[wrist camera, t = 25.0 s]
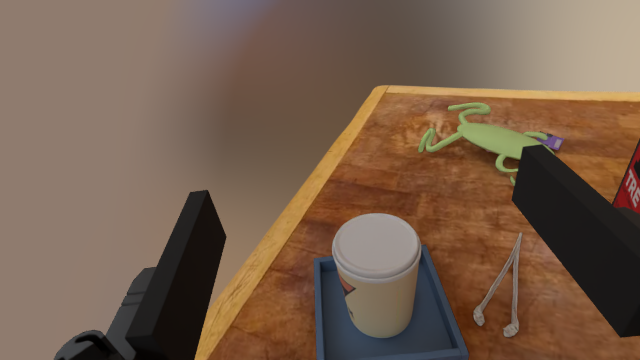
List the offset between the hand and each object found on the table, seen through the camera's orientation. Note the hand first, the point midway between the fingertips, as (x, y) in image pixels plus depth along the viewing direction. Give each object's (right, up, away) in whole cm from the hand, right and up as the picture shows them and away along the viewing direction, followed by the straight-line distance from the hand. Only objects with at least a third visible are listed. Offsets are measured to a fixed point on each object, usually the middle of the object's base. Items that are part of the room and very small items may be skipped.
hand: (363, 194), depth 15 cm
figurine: (+31, +6, +55) cm, 64 cm away
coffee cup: (+6, -16, +29) cm, 33 cm away
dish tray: (+6, -16, +29) cm, 33 cm away
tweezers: (+23, -12, +31) cm, 40 cm away
